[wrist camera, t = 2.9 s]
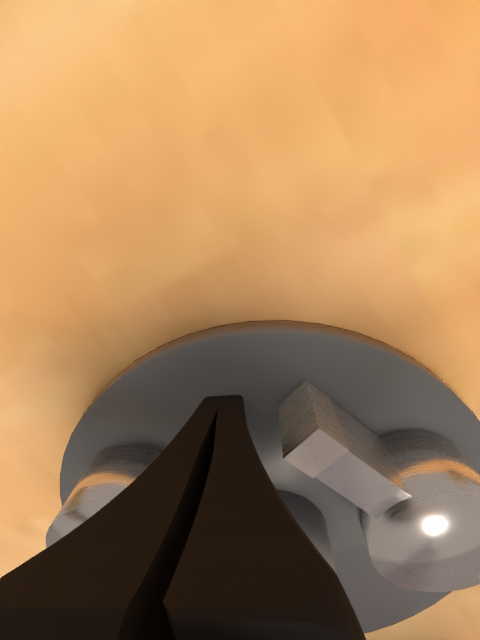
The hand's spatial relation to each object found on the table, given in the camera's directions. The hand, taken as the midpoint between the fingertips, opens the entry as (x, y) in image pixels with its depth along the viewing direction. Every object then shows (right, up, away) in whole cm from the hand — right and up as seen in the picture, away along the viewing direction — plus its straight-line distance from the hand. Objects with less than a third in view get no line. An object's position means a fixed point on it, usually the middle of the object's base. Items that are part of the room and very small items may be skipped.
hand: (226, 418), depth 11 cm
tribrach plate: (+2, -6, +5) cm, 8 cm away
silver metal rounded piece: (+6, -2, +1) cm, 6 cm away
